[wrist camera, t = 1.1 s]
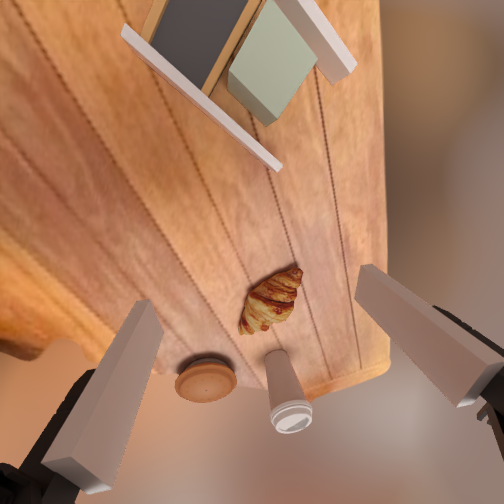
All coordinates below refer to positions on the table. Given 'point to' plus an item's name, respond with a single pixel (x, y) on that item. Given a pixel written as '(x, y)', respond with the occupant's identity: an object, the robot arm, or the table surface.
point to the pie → (205, 381)
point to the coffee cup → (286, 395)
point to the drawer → (198, 35)
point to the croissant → (270, 302)
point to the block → (270, 65)
